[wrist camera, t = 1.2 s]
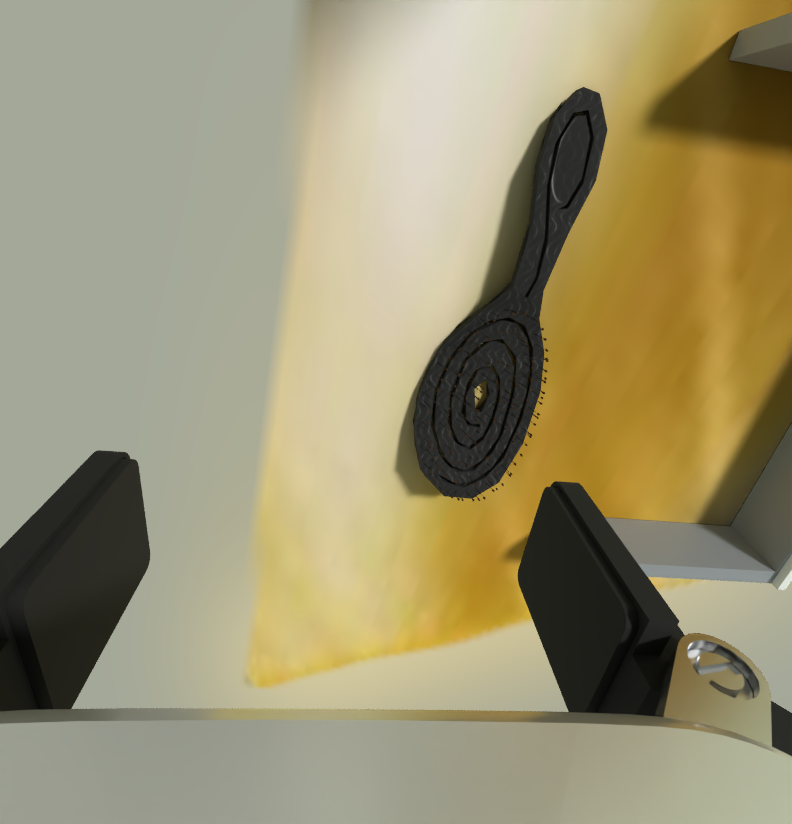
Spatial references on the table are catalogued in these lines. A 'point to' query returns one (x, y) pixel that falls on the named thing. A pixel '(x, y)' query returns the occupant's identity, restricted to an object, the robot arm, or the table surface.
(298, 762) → the robot arm
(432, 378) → the hairbrush
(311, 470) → the table surface
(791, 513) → the box
